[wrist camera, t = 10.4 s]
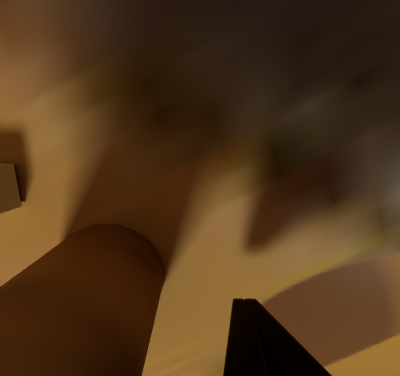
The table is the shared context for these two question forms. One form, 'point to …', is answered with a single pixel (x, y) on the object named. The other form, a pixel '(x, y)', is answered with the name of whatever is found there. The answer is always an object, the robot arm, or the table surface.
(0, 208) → the bracket
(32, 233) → the table surface
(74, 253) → the brown piece
